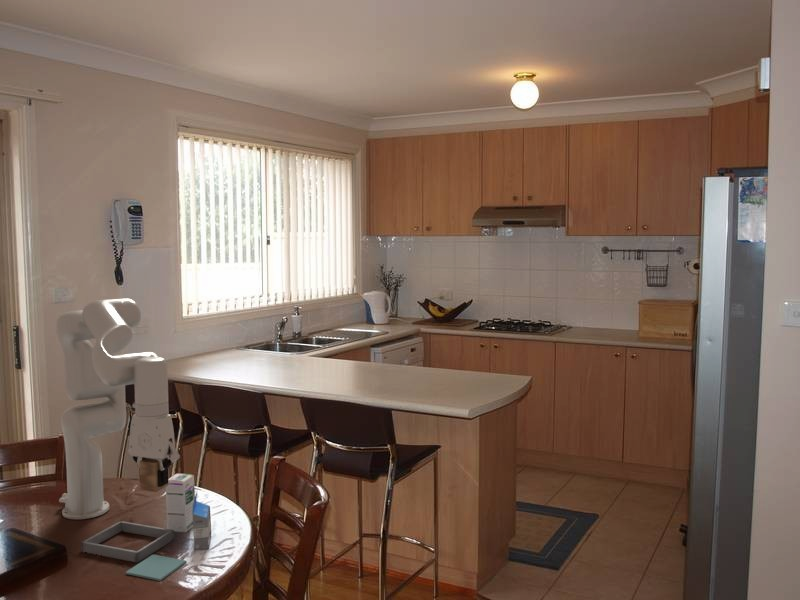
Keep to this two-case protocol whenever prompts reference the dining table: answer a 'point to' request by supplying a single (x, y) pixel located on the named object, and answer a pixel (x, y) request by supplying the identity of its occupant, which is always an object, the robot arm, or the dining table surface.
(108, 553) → the grey rectangular frame
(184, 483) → the syrup box
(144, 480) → the wooden block
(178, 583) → the dining table surface
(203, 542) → the label tape box
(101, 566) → the dining table surface
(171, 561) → the mat
